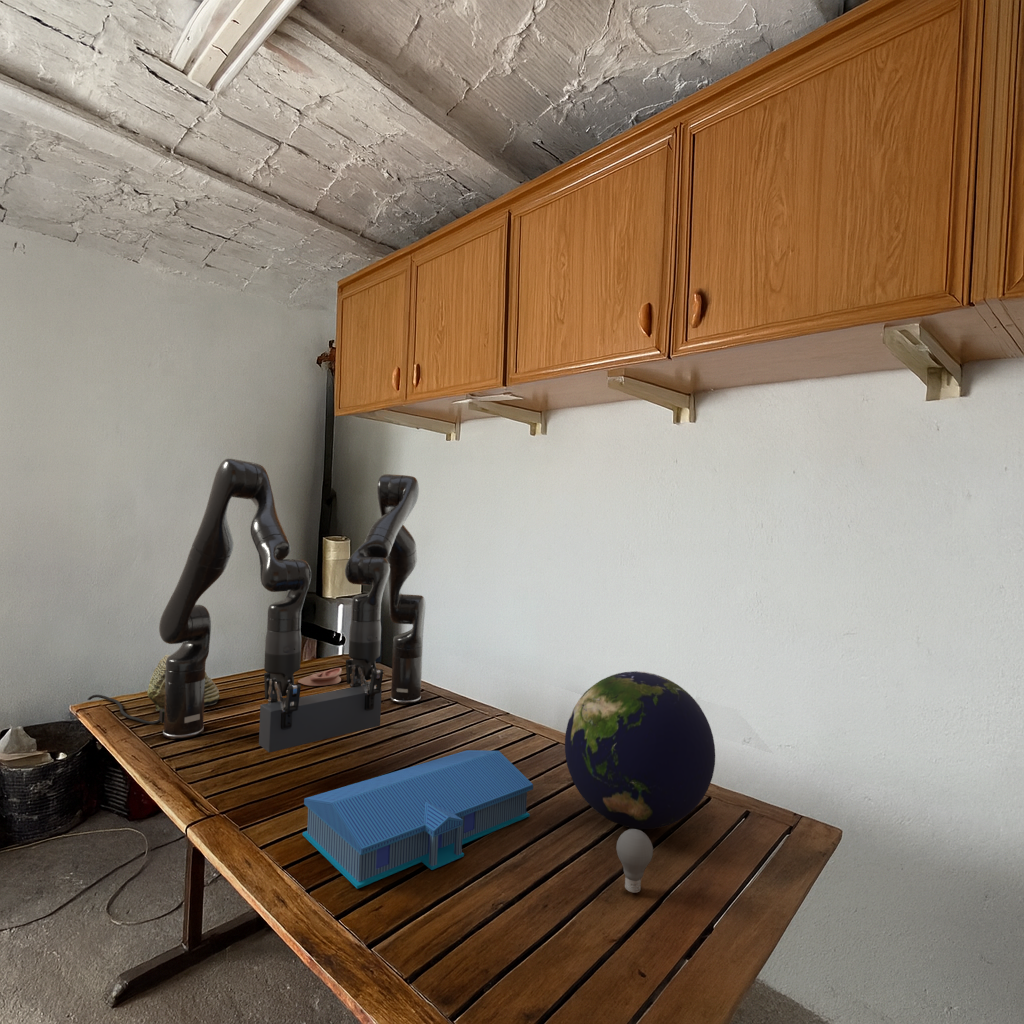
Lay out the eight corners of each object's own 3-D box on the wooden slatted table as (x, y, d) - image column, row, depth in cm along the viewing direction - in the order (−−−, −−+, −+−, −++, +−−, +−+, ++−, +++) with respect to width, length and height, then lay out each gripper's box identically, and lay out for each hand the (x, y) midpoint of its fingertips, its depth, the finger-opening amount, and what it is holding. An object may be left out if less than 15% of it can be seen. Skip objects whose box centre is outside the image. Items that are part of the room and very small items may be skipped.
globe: (541, 837, 121) (548, 681, 121) (583, 776, 149) (589, 649, 148) (703, 878, 110) (712, 707, 109) (717, 804, 138) (723, 667, 137)
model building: (367, 898, 100) (369, 836, 100) (301, 833, 119) (303, 781, 118) (541, 822, 127) (543, 772, 127) (465, 778, 145) (467, 735, 145)
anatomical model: (293, 672, 210) (311, 663, 221) (292, 684, 210) (310, 675, 221) (330, 676, 207) (346, 667, 219) (329, 688, 208) (345, 678, 219)
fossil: (144, 707, 182) (145, 655, 182) (212, 696, 194) (213, 647, 194) (151, 716, 175) (153, 662, 175) (221, 703, 188) (223, 653, 188)
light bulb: (610, 879, 108) (613, 822, 108) (644, 879, 109) (647, 822, 109) (619, 902, 102) (622, 840, 102) (655, 901, 103) (658, 840, 103)
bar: (269, 752, 136) (270, 711, 136) (258, 744, 140) (260, 704, 140) (380, 725, 155) (381, 689, 155) (368, 719, 159) (369, 683, 159)
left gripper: (314, 653, 138) (310, 730, 138) (285, 640, 148) (282, 712, 148) (280, 658, 132) (277, 738, 133) (253, 644, 143) (250, 719, 143)
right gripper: (394, 641, 152) (391, 711, 152) (363, 630, 162) (360, 696, 163) (366, 645, 147) (363, 717, 147) (336, 634, 157) (334, 701, 157)
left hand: (280, 724), depth 141 cm, fingers closed on bar, 5 cm apart
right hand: (362, 706), depth 155 cm, fingers closed on bar, 5 cm apart
